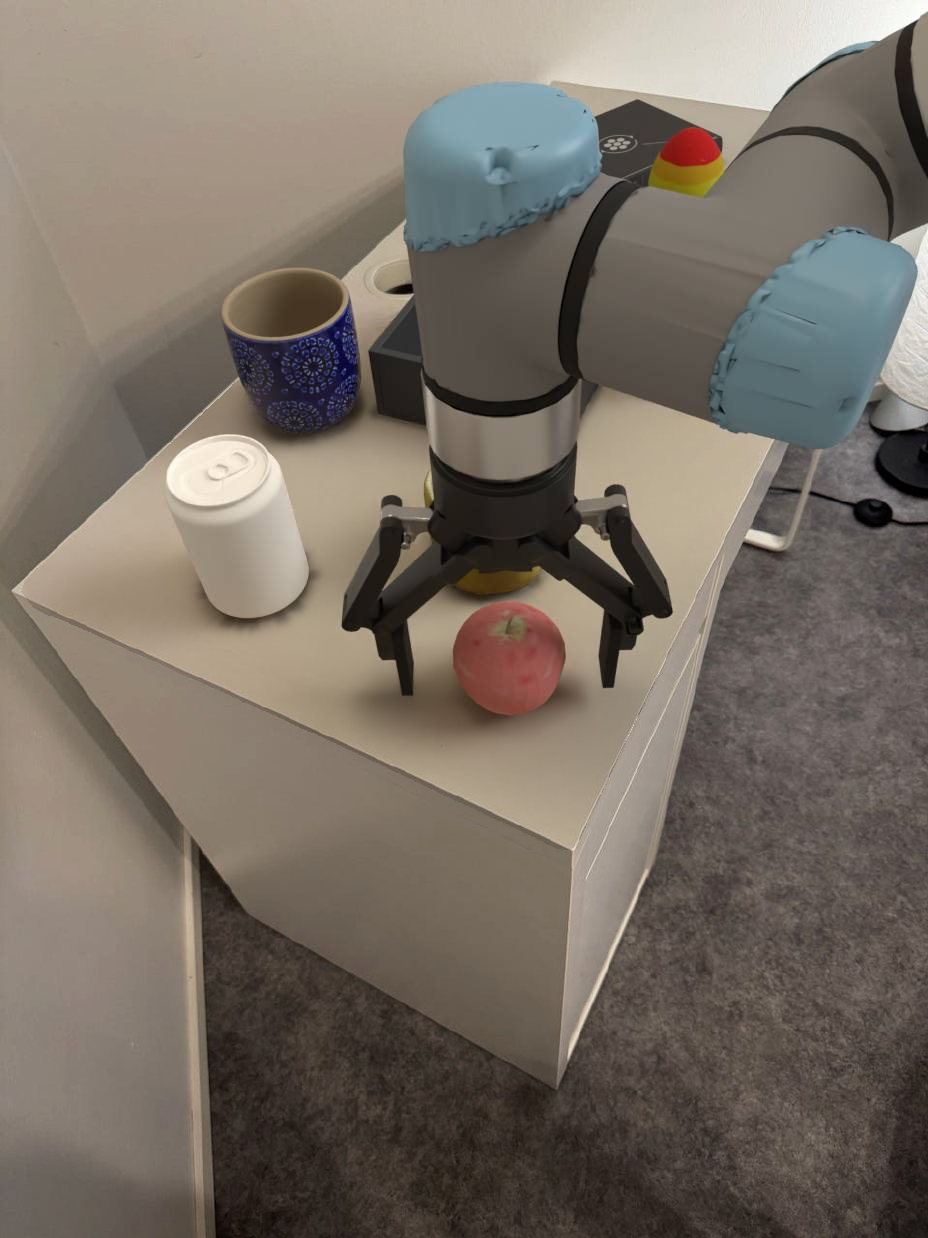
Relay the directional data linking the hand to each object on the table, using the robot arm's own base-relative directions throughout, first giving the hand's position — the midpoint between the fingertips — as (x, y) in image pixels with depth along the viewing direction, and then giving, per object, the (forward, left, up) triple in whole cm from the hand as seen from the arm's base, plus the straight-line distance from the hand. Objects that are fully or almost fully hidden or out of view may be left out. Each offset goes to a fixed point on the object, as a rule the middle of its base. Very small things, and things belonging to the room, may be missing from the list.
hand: (506, 675), depth 62 cm
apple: (0, 0, -2) cm, 2 cm away
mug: (+6, -13, -2) cm, 14 cm away
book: (+17, -74, -2) cm, 76 cm away
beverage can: (+22, -2, -2) cm, 22 cm away
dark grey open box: (+14, -32, -2) cm, 35 cm away
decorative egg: (+6, -65, -2) cm, 65 cm away
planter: (+29, -22, -2) cm, 36 cm away
